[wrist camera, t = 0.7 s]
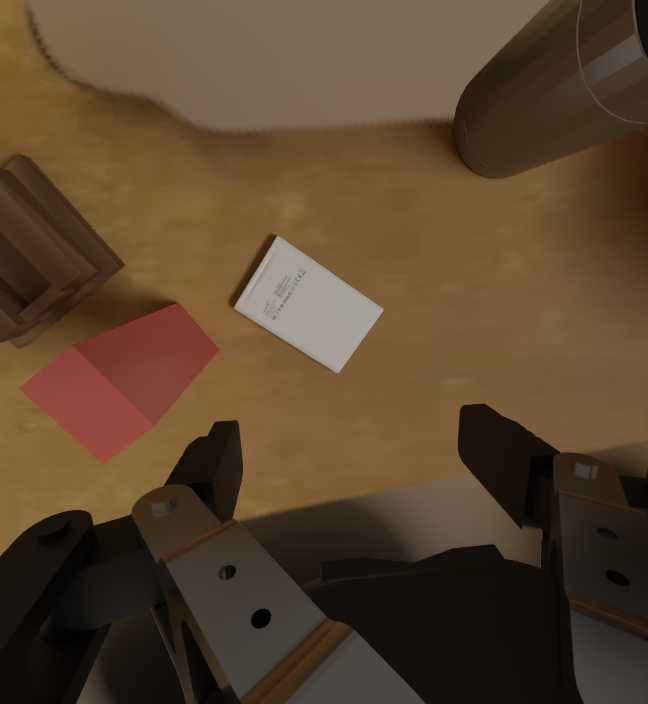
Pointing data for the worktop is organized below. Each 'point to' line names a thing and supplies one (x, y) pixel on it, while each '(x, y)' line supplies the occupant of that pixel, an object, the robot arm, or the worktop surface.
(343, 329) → the external hard drive
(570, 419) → the worktop surface
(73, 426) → the salmon rectangular prism
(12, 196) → the rack
